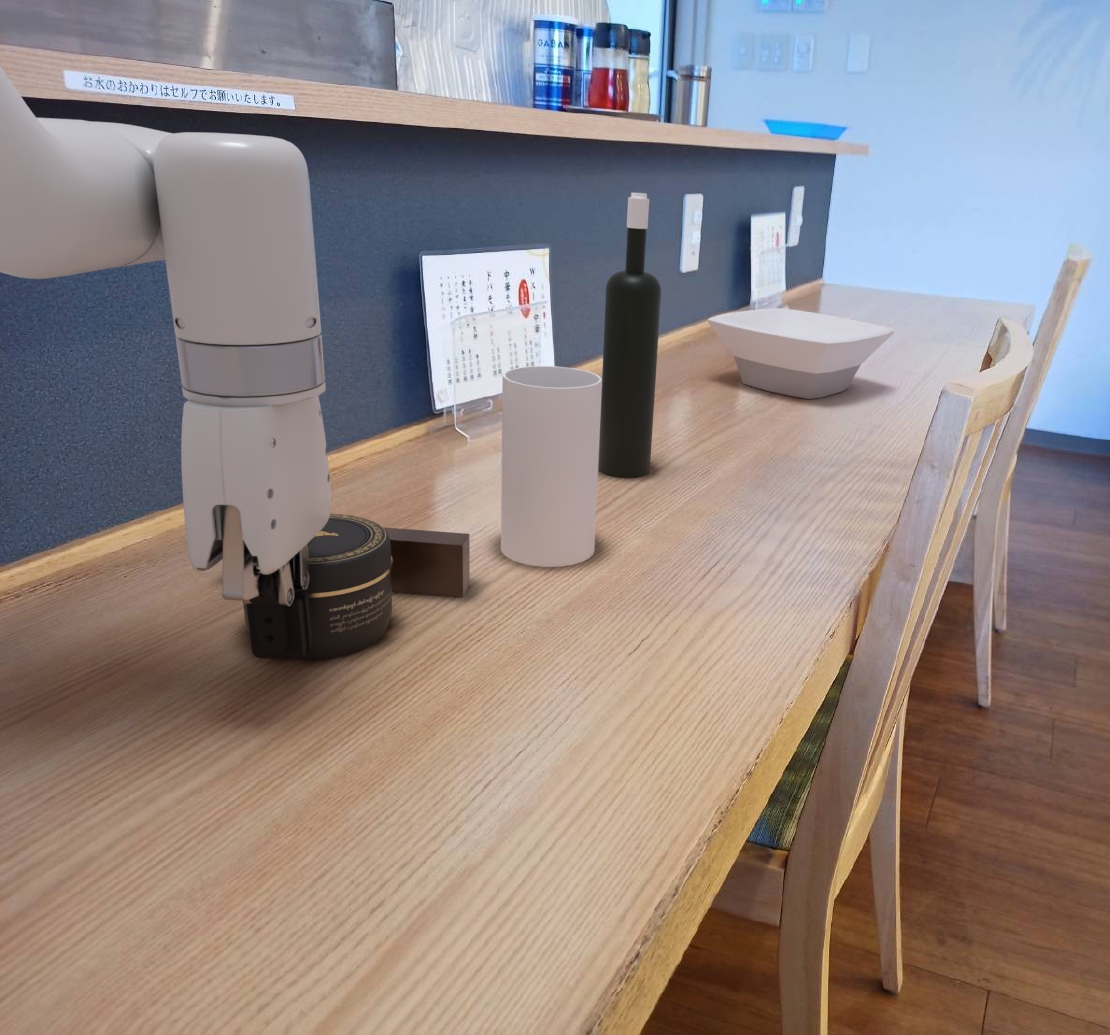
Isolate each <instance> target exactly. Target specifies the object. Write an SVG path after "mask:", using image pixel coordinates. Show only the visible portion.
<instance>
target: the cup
mask: <svg viewBox="0 0 1110 1035" xmlns="http://www.w3.org/2000/svg"><path fill="white" fill-rule="evenodd" d="M501 385H502V389H501V390H502V396H501V397H502V398H501V400H502V401H501V489H500V490H501V491H500V492H501V494H500V495H501V501H500V502H501V504H500V505H501V506H500V512H501V513H500V516H501V517H500V551H501V553H502V554H503V556H505V557H506V558H507V559H510V560H511V561H514V562H516V563H519V564H524V565H527V566H534V567H543V568H551V567H552V568H557V567H567V566H573V565H576V564H579V563H582V562H585V561H587V560H588V559H590V558H591V557H592V556H593V555H594V553H595V545H596V524H597V523H596V519H597V505H598V504H597V500H598V483H599V482H598V480H599V470H598V461H599V438H600V416H601V393H602V376H600V375H598V374H597V373H595V372H591V371H588V370H584V369H579V368H573V367H565V366H556V365H555V366H554V365H534V366H533V365H531V366H522V367H521V366H520V367H515V368H511V369H508V370H506V371H505V372H503V374H502V384H501Z"/></svg>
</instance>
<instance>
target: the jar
mask: <svg viewBox="0 0 1110 1035" xmlns="http://www.w3.org/2000/svg"><path fill="white" fill-rule="evenodd" d="M391 569H392V556H391V544H390V538H389V535H388V533H387V531H386V530H385V529H384V528H383V526H382V525H380V524H379V523H377V522H375V521H373V520H371V519H368V518H364V517H360V516H355V515H349V514H341V513H339V514H338V513H330V517H329V519H328V521H327V523H326V525H325V526H324V527H323V528H322V529H321V531H320V532H319V533H318V534H317V535H316V536H315V537H314V539H313V540H312V542H311V544H310V545H309V577H310V579H309V585H308V588H307V589H306V590H300V592H308V598H309V609H310V620H311V631H312V641H313V645H312V647H311V648H310V649H309V650H308V651H307V652H306V654H305V655H304V657H303V658H302V659H301V660H300V661H322V660H323V661H324V660H329V659H330V660H331V659H335V658H336V659H337V658H341V657H345V656H349V655H352V654H356V653H358V652H361V651H363V650H366V649H368V648H369V647H371V646H373V645H375V644H376V643H377V642H379V641H380V640H381V639H382V638H383V637H384V636H385V635H386V633H387V631H388V628H389V625H390V621H391V617H392V614H393V613H392V612H393V593H392V585H391ZM255 573H258V572H255ZM242 604H243V605H242V606H243V614H244V622H245V626H246V629H247V631H248V634H249V635H250V630H249V621H248V613H247V604H245V603H243V602H242Z"/></svg>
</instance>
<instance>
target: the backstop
mask: <svg viewBox="0 0 1110 1035" xmlns="http://www.w3.org/2000/svg"><path fill="white" fill-rule="evenodd" d="M382 527H383V526H382ZM383 528H384V529H385V530H386V531H387V533H388V535H389V538H390V544H391V556H392V569H391V585H392V594H393V593H394V594H403V595H404V594H406V595H418V596H433V597H445V598H460V599H463V598H464V597H465V595H466V593H467V591H468V590H469V588H470V586H471V585H470V582H471V581H470V579H471V578H470V574H471V572H470V567H471V565H470V564H471V562H470V561H471V560H470V556H471V555H470V552H471V551H470V549H471V548H470V546H471V545H470V533H465V532H449V531H436V530H424V529H421V530H420V529H410V528H399V527H398V528H397V527H396V528H395V527H383Z"/></svg>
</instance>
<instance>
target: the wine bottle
mask: <svg viewBox="0 0 1110 1035" xmlns="http://www.w3.org/2000/svg"><path fill="white" fill-rule="evenodd" d="M649 210H650V198H648V194H647V193H645V192H644V193H643V192H633V191H632V192H630V196H629V197H627V214H626V228H627V231H626V232H627V233H626V250H625V251H626V252H625V253H626V254H625V268H624V270H619V271H617V272H615V273H613V274H612V275H611V276H610V277H609V279H608V280H607V283H606V286H605V303H604V324H603V325H604V326H603V327H604V328H603V349H602V350H603V351H602V370H601V372H602V374H601V379H602V392H601V415H600V437H599V460H598V472H600V473H601V474H603V475H604V476H607V477H612V478H617V479H638V478H644V477H646V476H648V475H650V473H651V458H652V443H653V427H654V411H655V396H656V379H657V378H656V377H657V365H658V364H657V363H658V351H659V350H658V349H659V334H660V333H659V332H660V317H661V303H662V302H661V301H662V287H661V283H660V281H659V280H658V278H657V277H656V276H655V275H653V274H651V273H649V272H646V271H645V265H646V264H645V263H646V248H647V246H646V245H647V231H648V227H649V213H650V212H649Z"/></svg>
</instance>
